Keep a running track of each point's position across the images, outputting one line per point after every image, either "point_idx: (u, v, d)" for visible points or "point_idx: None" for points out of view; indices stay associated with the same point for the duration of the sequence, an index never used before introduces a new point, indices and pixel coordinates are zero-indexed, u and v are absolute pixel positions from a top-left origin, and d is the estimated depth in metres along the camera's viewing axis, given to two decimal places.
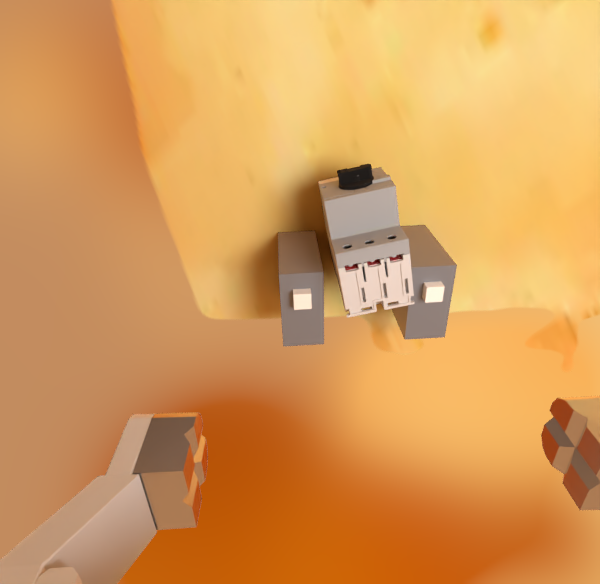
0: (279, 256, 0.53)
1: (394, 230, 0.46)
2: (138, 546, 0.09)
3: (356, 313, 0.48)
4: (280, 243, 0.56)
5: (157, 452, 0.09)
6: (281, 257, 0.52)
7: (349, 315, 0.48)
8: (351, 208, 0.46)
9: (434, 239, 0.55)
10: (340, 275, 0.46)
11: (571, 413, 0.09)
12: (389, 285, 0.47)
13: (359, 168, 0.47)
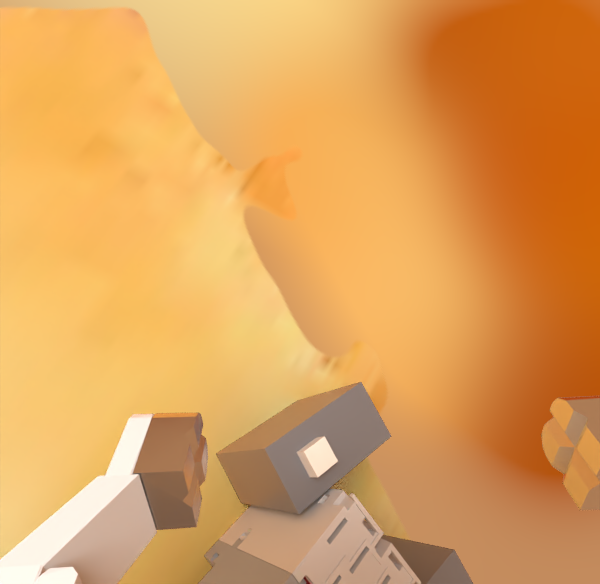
0: None
1: None
2: (138, 546, 0.09)
3: (409, 572, 0.29)
4: None
5: (157, 452, 0.09)
6: None
7: (416, 581, 0.29)
8: None
9: (233, 454, 0.37)
10: None
11: (571, 413, 0.09)
12: (348, 558, 0.28)
13: None
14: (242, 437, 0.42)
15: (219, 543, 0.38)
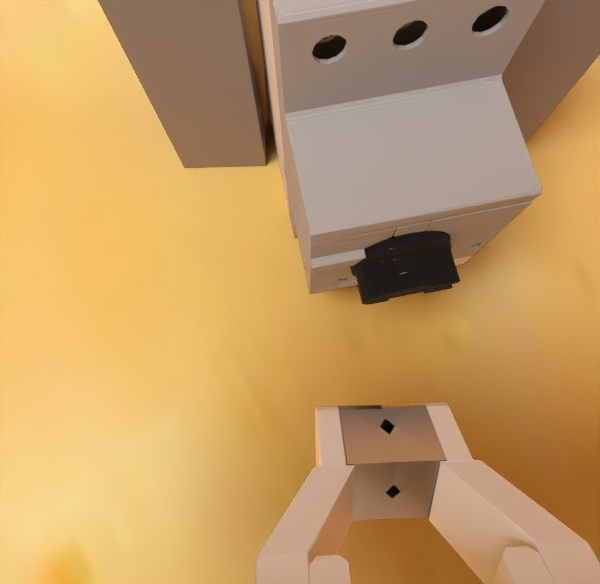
0: (585, 68, 0.19)
1: (308, 89, 0.14)
2: (342, 537, 0.09)
3: None
4: (538, 121, 0.23)
5: (362, 444, 0.09)
6: (584, 62, 0.19)
7: None
8: (448, 168, 0.14)
9: (163, 117, 0.22)
10: None
11: (384, 421, 0.09)
12: None
13: (396, 293, 0.16)
14: None
15: (289, 210, 0.25)
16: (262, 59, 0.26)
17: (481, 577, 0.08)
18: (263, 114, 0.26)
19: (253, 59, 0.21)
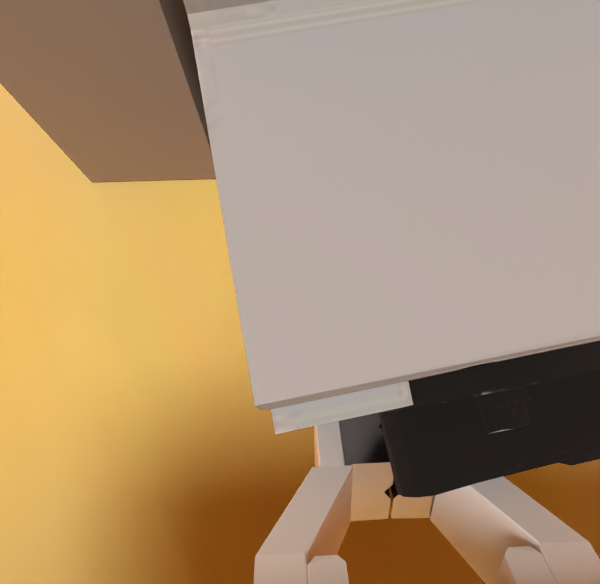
0: None
1: None
2: (341, 537, 0.09)
3: None
4: None
5: (360, 444, 0.09)
6: None
7: None
8: None
9: (21, 97, 0.12)
10: None
11: None
12: None
13: None
14: None
15: None
16: None
17: (483, 577, 0.08)
18: None
19: None
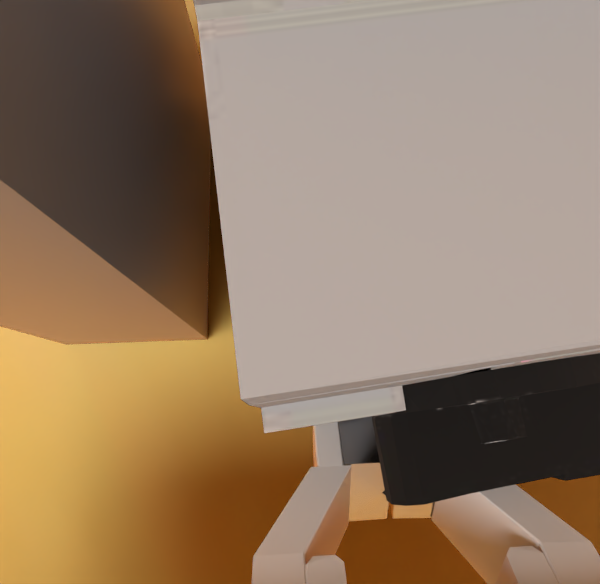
0: None
1: None
2: (340, 537, 0.09)
3: None
4: None
5: (359, 444, 0.09)
6: None
7: None
8: None
9: None
10: None
11: None
12: None
13: None
14: None
15: None
16: (196, 161, 0.15)
17: (484, 577, 0.08)
18: (198, 260, 0.15)
19: (149, 213, 0.10)
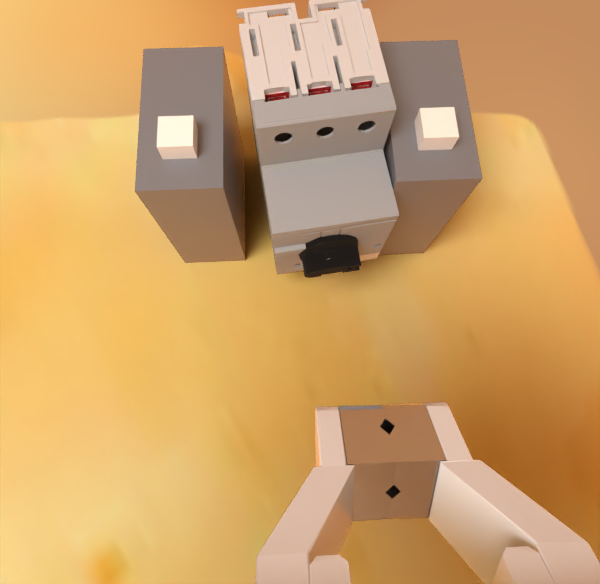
0: (452, 213, 0.30)
1: (273, 155, 0.25)
2: (343, 537, 0.09)
3: (348, 0, 0.25)
4: (433, 235, 0.33)
5: (362, 444, 0.09)
6: (451, 211, 0.29)
7: None
8: (349, 200, 0.26)
9: (172, 240, 0.32)
10: (384, 70, 0.24)
11: (384, 421, 0.09)
12: (286, 47, 0.24)
13: (324, 270, 0.28)
14: None
15: None
16: (241, 185, 0.36)
17: (481, 577, 0.08)
18: (242, 225, 0.36)
19: (235, 204, 0.31)
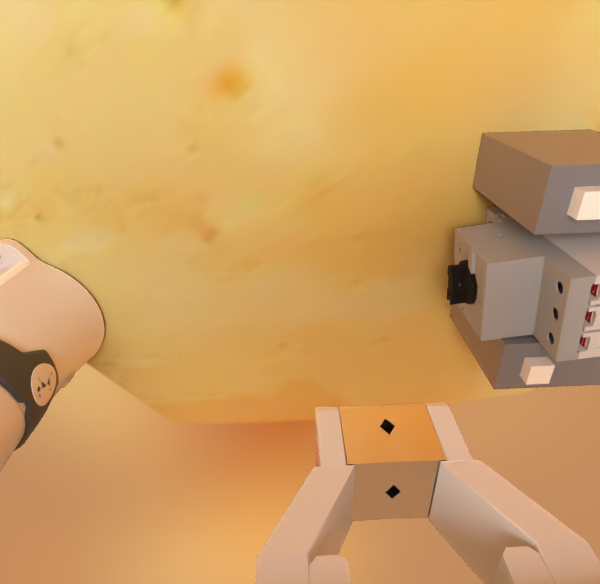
0: (474, 356, 0.43)
1: (550, 271, 0.33)
2: (343, 537, 0.09)
3: None
4: (461, 333, 0.47)
5: (362, 443, 0.09)
6: (476, 356, 0.43)
7: None
8: (499, 313, 0.36)
9: (504, 146, 0.36)
10: (588, 356, 0.34)
11: (384, 421, 0.09)
12: None
13: (451, 280, 0.38)
14: (515, 133, 0.39)
15: None
16: None
17: (480, 577, 0.08)
18: None
19: None
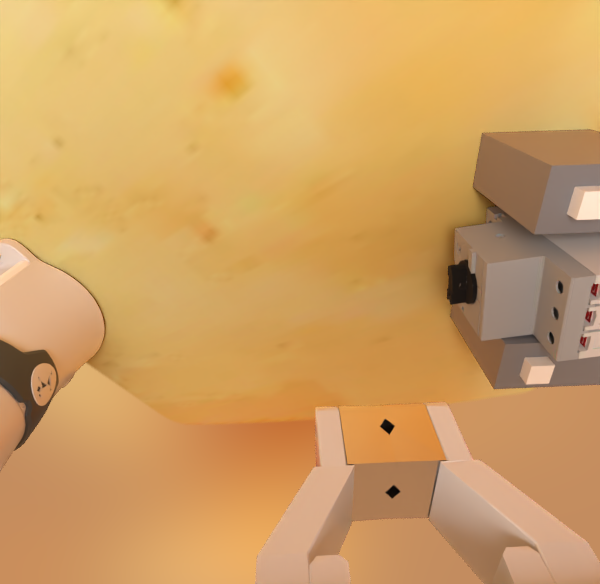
0: (475, 356, 0.43)
1: (550, 271, 0.33)
2: (343, 537, 0.09)
3: None
4: (461, 333, 0.47)
5: (362, 444, 0.09)
6: (476, 356, 0.43)
7: None
8: (500, 312, 0.36)
9: (504, 146, 0.36)
10: (589, 356, 0.34)
11: (384, 421, 0.09)
12: None
13: (451, 280, 0.38)
14: (515, 133, 0.39)
15: None
16: None
17: (481, 577, 0.08)
18: None
19: None
